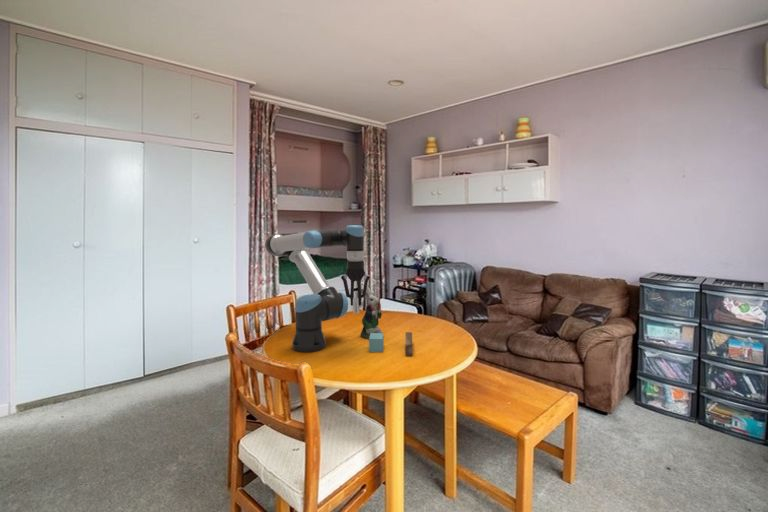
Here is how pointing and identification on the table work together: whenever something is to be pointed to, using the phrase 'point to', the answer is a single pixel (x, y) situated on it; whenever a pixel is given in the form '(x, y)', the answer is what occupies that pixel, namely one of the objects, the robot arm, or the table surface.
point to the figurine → (371, 315)
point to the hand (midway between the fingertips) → (356, 312)
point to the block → (376, 342)
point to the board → (408, 344)
